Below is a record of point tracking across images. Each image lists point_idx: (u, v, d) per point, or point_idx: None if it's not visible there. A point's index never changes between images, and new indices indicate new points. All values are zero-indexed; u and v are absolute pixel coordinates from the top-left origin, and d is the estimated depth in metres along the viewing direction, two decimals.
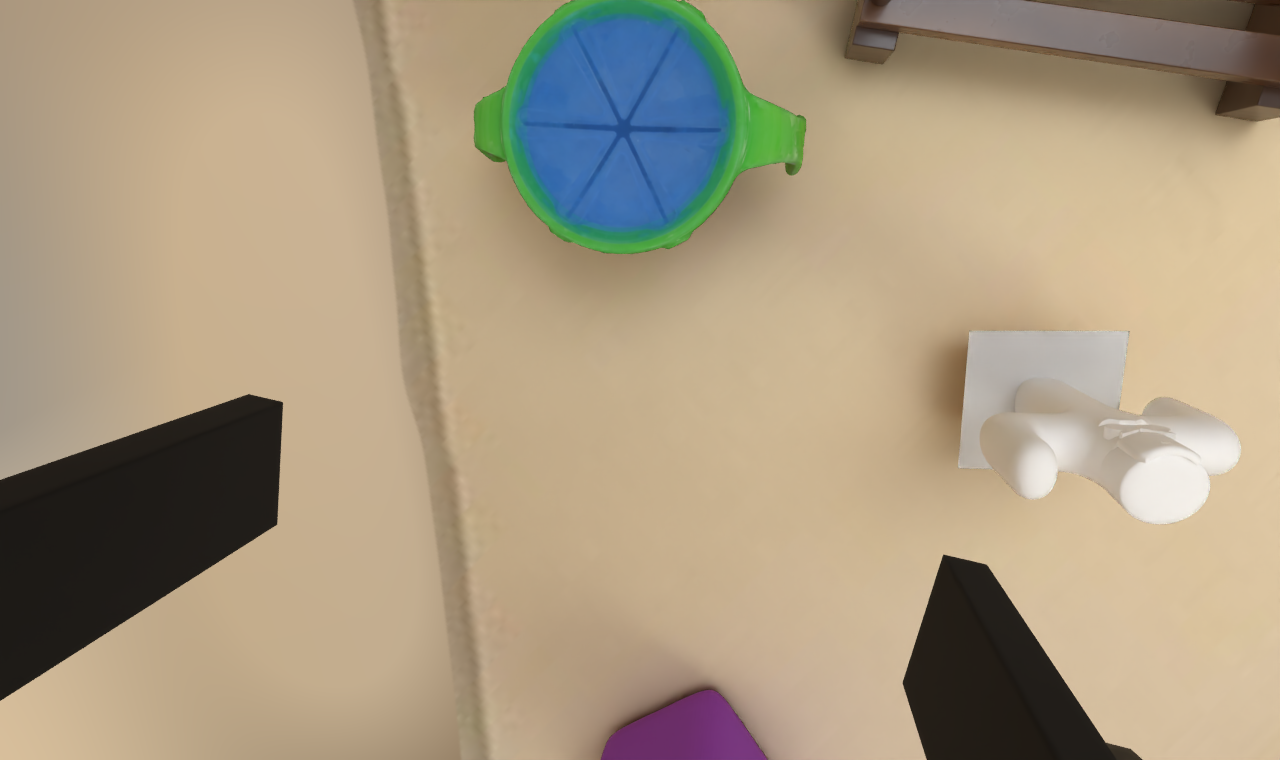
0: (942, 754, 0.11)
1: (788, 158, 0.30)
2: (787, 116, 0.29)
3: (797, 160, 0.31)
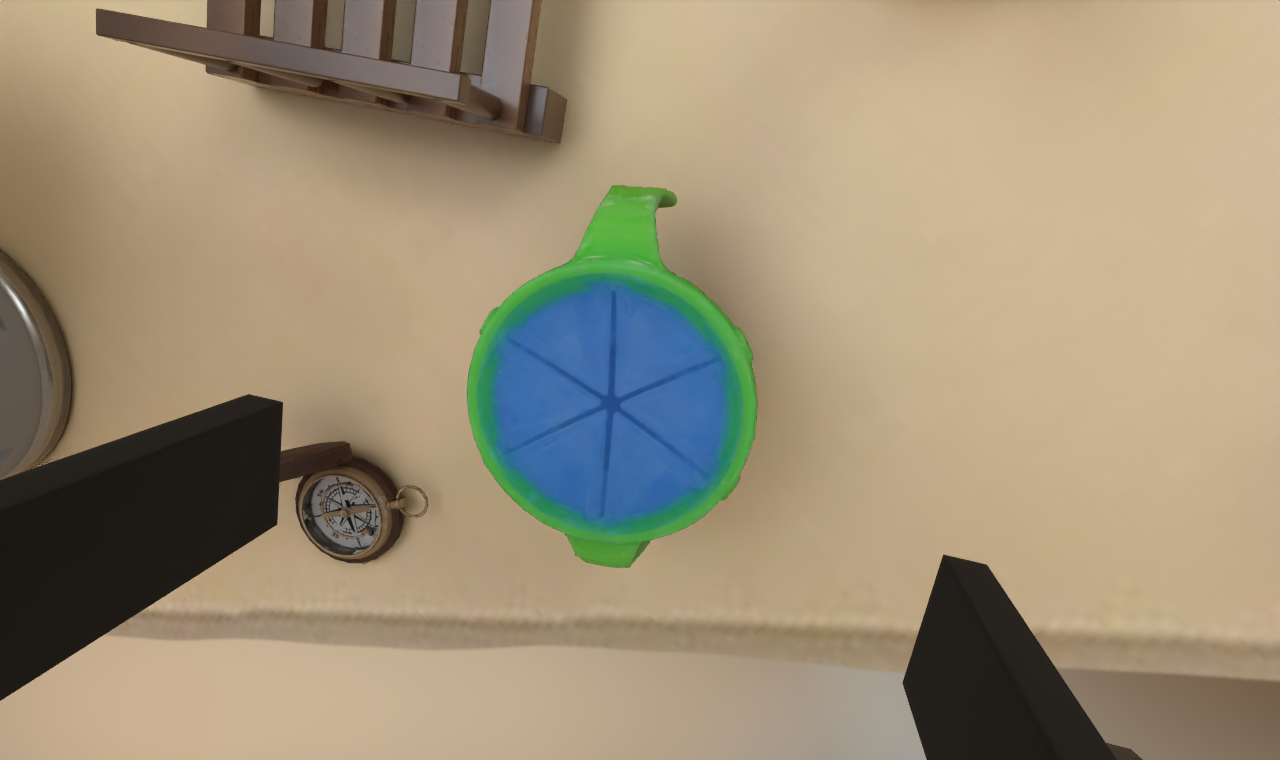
0: (942, 754, 0.11)
1: (651, 206, 0.24)
2: (603, 209, 0.24)
3: (655, 194, 0.25)
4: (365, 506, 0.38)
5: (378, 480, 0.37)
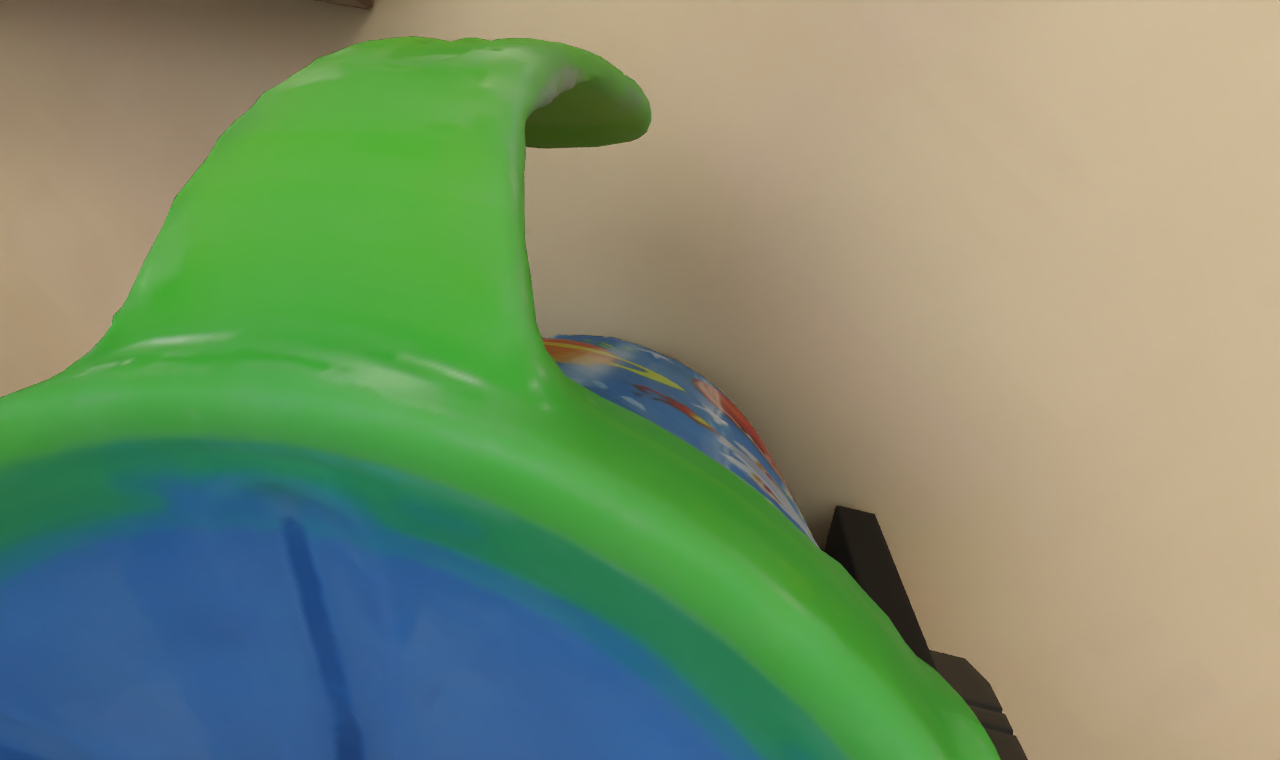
0: None
1: (510, 84, 0.05)
2: (278, 101, 0.05)
3: (546, 49, 0.06)
4: None
5: None
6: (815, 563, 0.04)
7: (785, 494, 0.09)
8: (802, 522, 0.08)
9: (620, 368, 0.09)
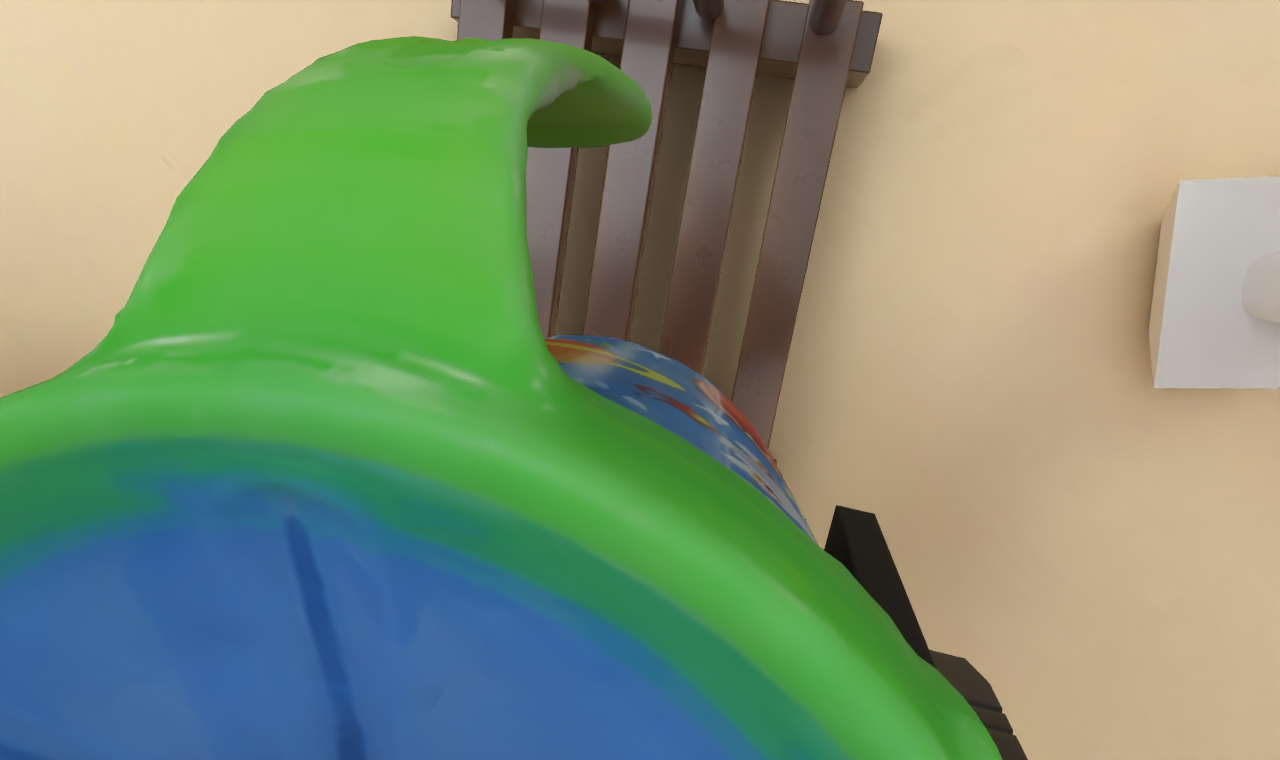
0: None
1: (511, 83, 0.05)
2: (280, 101, 0.05)
3: (548, 49, 0.06)
4: None
5: None
6: (817, 562, 0.04)
7: (786, 494, 0.09)
8: (803, 522, 0.08)
9: (621, 368, 0.09)
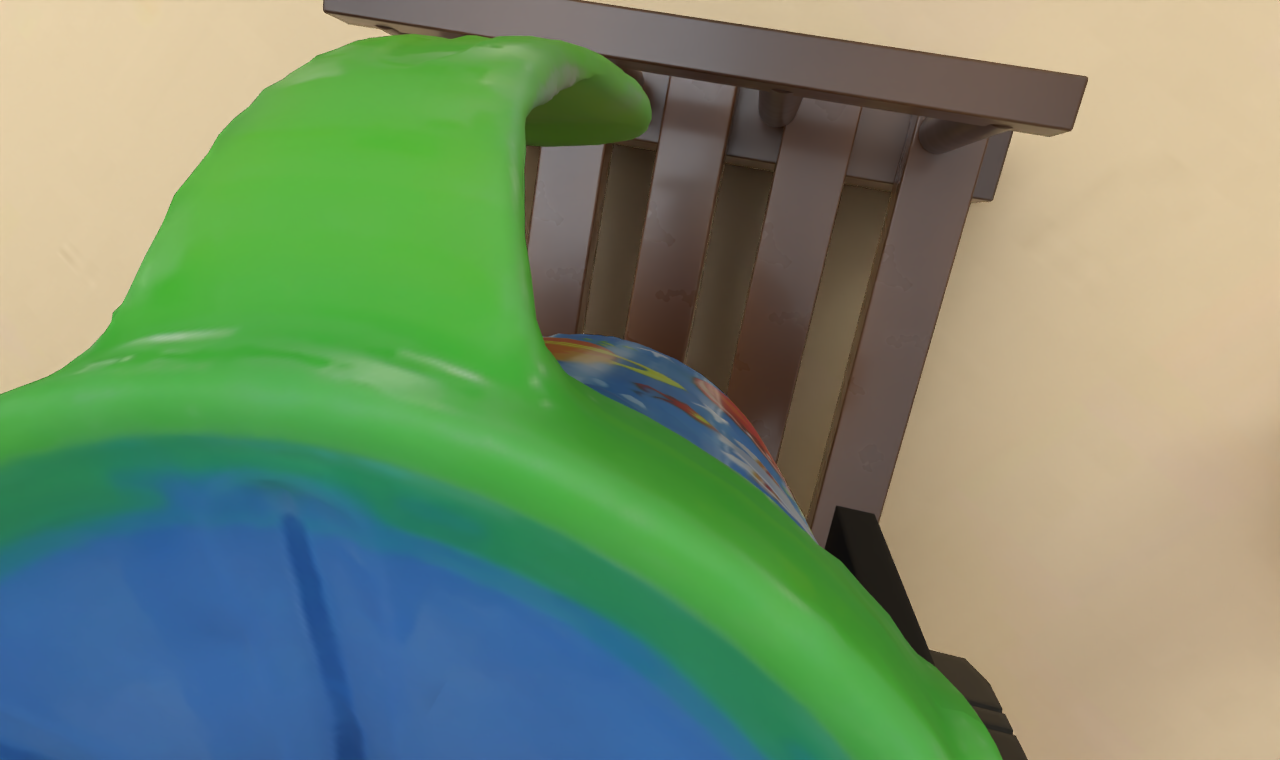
0: None
1: (509, 79, 0.05)
2: (278, 98, 0.05)
3: (547, 46, 0.06)
4: None
5: None
6: (816, 560, 0.04)
7: (785, 493, 0.09)
8: (803, 520, 0.08)
9: (620, 366, 0.09)
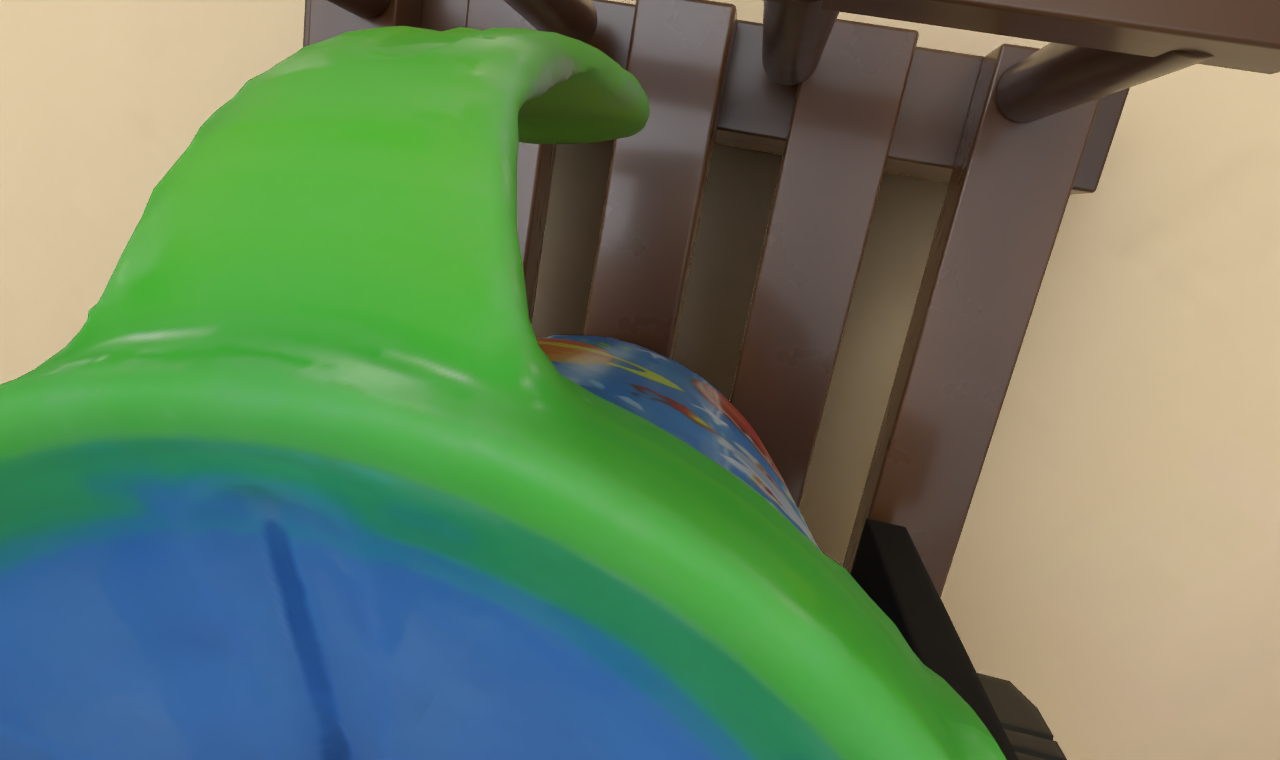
0: None
1: (502, 71, 0.05)
2: (262, 90, 0.05)
3: (541, 38, 0.06)
4: None
5: None
6: (819, 568, 0.04)
7: (786, 496, 0.08)
8: (804, 525, 0.08)
9: (618, 368, 0.08)
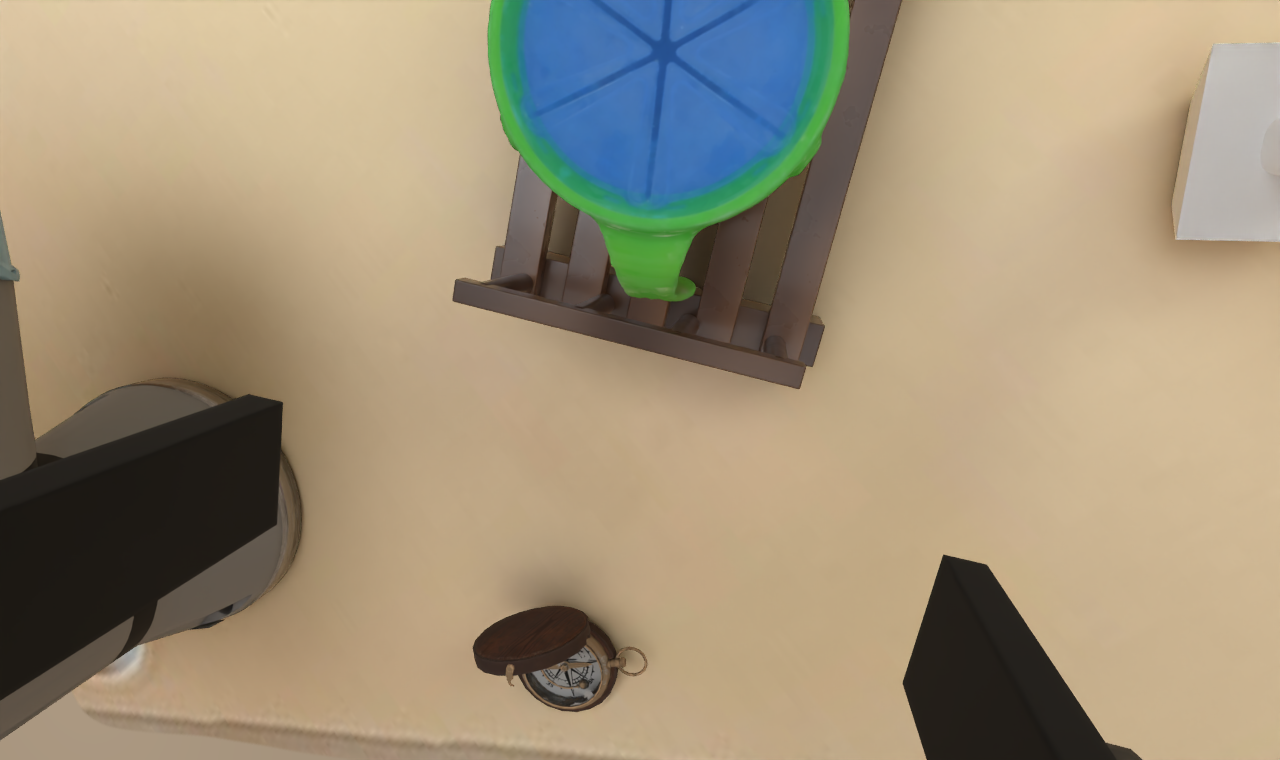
0: (942, 754, 0.11)
1: None
2: None
3: None
4: (583, 661, 0.40)
5: (599, 640, 0.40)
6: None
7: None
8: None
9: None
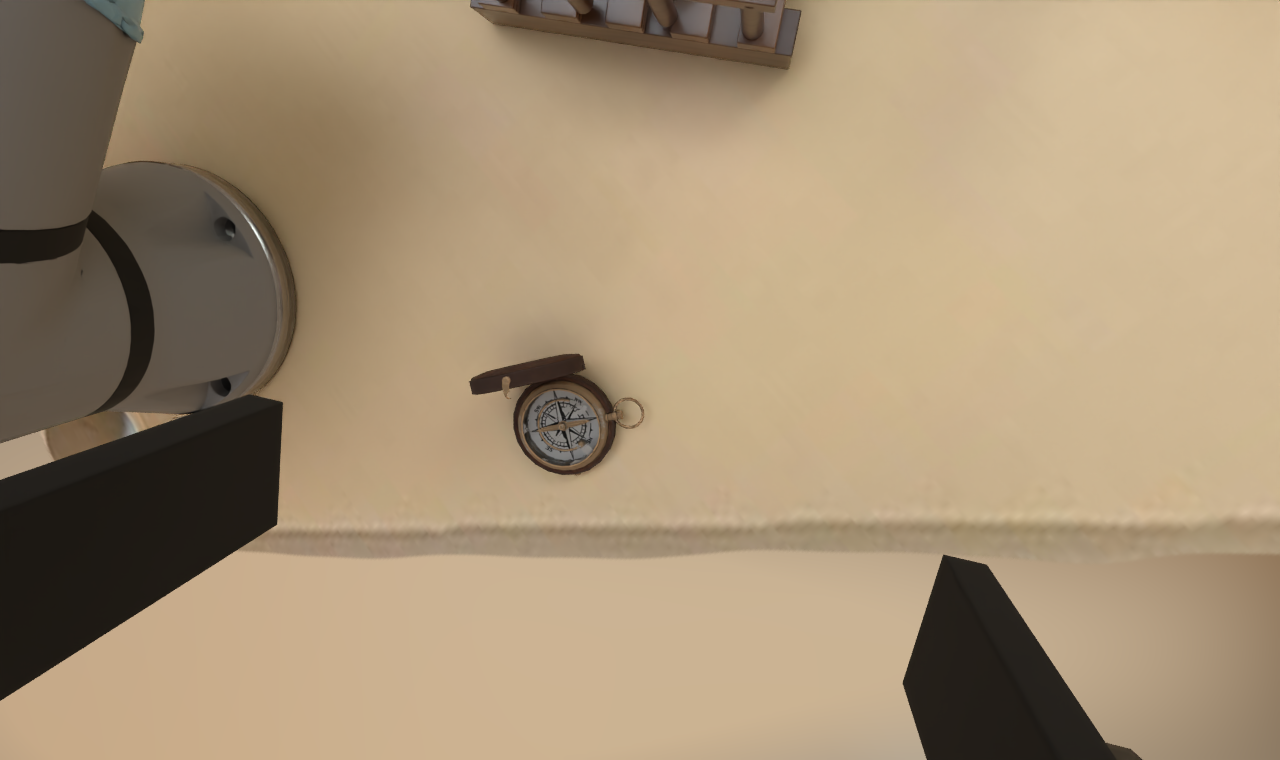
0: (942, 754, 0.11)
1: None
2: None
3: None
4: (581, 420, 0.41)
5: (596, 394, 0.40)
6: None
7: None
8: None
9: None
